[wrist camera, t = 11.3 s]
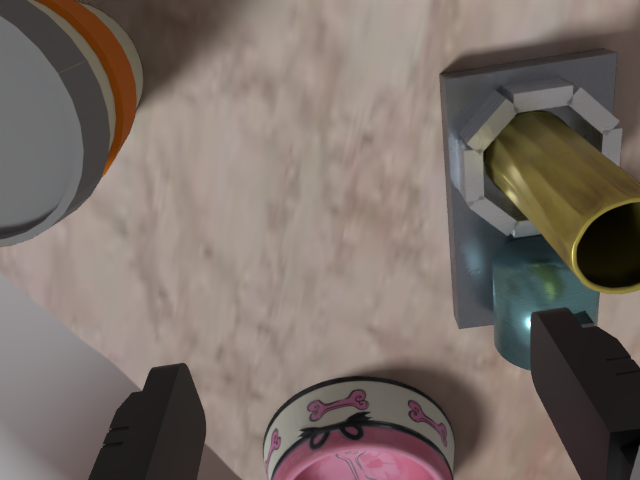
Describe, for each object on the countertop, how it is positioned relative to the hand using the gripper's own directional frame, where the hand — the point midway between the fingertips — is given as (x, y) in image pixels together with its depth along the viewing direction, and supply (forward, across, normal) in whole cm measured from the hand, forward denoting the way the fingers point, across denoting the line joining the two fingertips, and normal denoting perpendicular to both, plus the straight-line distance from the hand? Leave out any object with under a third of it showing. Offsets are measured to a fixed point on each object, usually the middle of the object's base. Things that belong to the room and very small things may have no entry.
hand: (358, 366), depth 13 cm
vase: (+27, -13, +7) cm, 31 cm away
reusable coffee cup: (+30, +17, -4) cm, 34 cm away
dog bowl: (+29, +3, +35) cm, 45 cm away
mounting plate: (+29, -13, +11) cm, 33 cm away
